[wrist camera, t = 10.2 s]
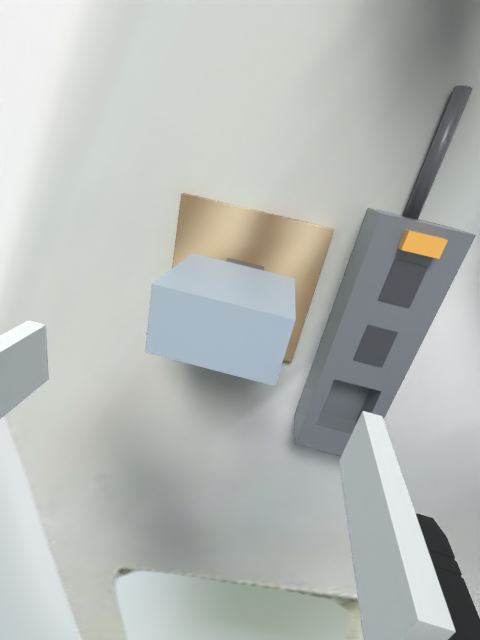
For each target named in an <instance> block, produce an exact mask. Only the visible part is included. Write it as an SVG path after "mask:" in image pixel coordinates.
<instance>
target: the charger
mask: <svg viewBox="0 0 480 640" xmlns="http://www.w3.org/2000/svg"><path fill="white" fill-rule="evenodd" d="M263 268H264V266H261V265H257V264H252V263H248V262H244V261H240V260H236V259H232V258H227V260H226V261H223V260H219V259H214V258H210V257H206V256H202V255H198V254H194V253H192V254H191V255H189V256H188V257H187V258H185V259H184V260H183V261H181V262H180V263H179V264H177V265H176V266H175V267H173V268H172V269H171V270H169V271H168V272H167V273H166V274H164V275H163V276H162V277H160V278H159V279H158V280H156V281H155V282H154V283H152V289H151V299H150V309H149V319H148V329H147V338H146V348H145V352H146V353H150V354H154V355H157V356H161V357H165V358H169V359H173V360H177V361H180V362H184V363H188V364H192V365H196V366H200V367H203V368H207V369H211V370H215V371H219V372H222V373H226V374H230V375H234V376H238V377H242V378H245V379H249V380H253V381H257V382H261V383H264V384H268V385H272V386H275V385H276V382H277V379H278V376H279V372H280V369H281V366H282V363H283V359H284V356H285V353H286V350H287V346H288V343H289V340H290V337H291V333H292V330H293V327H294V324H295V320H296V311H295V278H292V277H288V276H284V275H280V274H276V273H272V272H268V271H263Z"/></svg>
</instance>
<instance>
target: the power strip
mask: <svg viewBox="0 0 480 640" xmlns="http://www.w3.org/2000/svg"><path fill="white" fill-rule="evenodd" d="M471 91H472V88H471V87H468V86H456V87H455V88H454V91H453V93H452V96H451V98H450V101H449V103H448V106H447V108H446V111H445V113H444V116H443V118H442V121H441V123H440V126H439V128H438V130H437V133H436V135H435V138H434V140H433V143H432V145H431V148H430V150H429V153H428V155H427V158H426V160H425V163H424V165H423V168H422V170H421V173H420V175H419V178H418V180H417V183H416V185H415V188H414V190H413V193H412V195H411V198H410V200H409V203H408V205H407V208H406V210H405V213H404V215H403V216H401V215H396V214H392V213H388V212H384V211H379V210H375V209H371V208H368V209H367V212H366V215H365V218H364V221H363V224H362V226H361V229H360V232H359V235H358V238H357V241H356V243H355V246H354V249H353V252H352V255H351V257H350V260H349V263H348V266H347V269H346V272H345V274H344V277H343V280H342V283H341V286H340V288H339V291H338V294H337V297H336V300H335V303H334V305H333V308H332V311H331V314H330V317H329V320H328V322H327V325H326V328H325V331H324V334H323V336H322V339H321V342H320V345H319V348H318V351H317V353H316V356H315V359H314V362H313V365H312V367H311V370H310V373H309V376H308V379H307V382H306V384H305V387H304V390H303V393H302V396H301V399H300V401H299V404H298V407H297V410H296V413H295V444H297V445H301V446H304V447H308V448H312V449H315V450H319V451H323V452H326V453H330V454H334V455H338V456H342V454H343V452H344V449H345V447H346V445H347V443H348V441H349V439H350V437H351V435H352V432H353V430H354V428H355V426H356V424H357V422H358V420H359V417H360V415H361V413H362V411H365V412H369V413H372V414H376V415H380V416H382V417H383V419H384V417H385V415H386V413H387V411H388V409H389V407H390V405H391V403H392V401H393V399H394V397H395V395H396V393H397V391H398V389H399V387H400V385H401V383H402V381H403V379H404V377H405V375H406V373H407V371H408V369H409V367H410V365H411V363H412V361H413V359H414V357H415V355H416V353H417V351H418V349H419V347H420V345H421V344H422V342H423V340H424V338H425V336H426V334H427V332H428V330H429V328H430V326H431V324H432V322H433V320H434V318H435V316H436V314H437V312H438V310H439V308H440V306H441V304H442V302H443V300H444V298H445V296H446V294H447V292H448V290H449V288H450V286H451V284H452V282H453V280H454V278H455V276H456V274H457V272H458V270H459V268H460V266H461V264H462V262H463V260H464V258H465V256H466V254H467V252H468V250H469V248H470V246H471V244H472V242H473V240H474V238H475V236H476V235H473V234H470V233H467V232H464V231H461V230H458V229H455V228H451V227H448V226H444V225H440V224H435V223H431V222H427V221H422V220H418V217H419V215H420V213H421V210H422V208H423V205H424V203H425V201H426V198H427V196H428V194H429V191H430V189H431V186H432V184H433V182H434V179H435V177H436V174H437V172H438V170H439V167H440V165H441V163H442V160H443V158H444V155H445V153H446V151H447V148H448V146H449V144H450V141H451V139H452V136H453V134H454V132H455V129H456V127H457V125H458V122H459V120H460V117H461V115H462V113H463V110H464V108H465V106H466V103H467V101H468V98H469V96H470V94H471Z"/></svg>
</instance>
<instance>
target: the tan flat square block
mask: <svg viewBox="0 0 480 640" xmlns="http://www.w3.org/2000/svg"><path fill="white" fill-rule="evenodd" d="M333 231H334V229H333V228H329V227H324V226H320V225H316V224H312V223H307V222H303V221H299V220H295V219H290V218H286V217H282V216H278V215H274V214H269V213H265V212H261V211H257V210H252V209H248V208H244V207H240V206H235V205H231V204H227V203H223V202H219V201H214V200H210V199H206V198H202V197H197V196H193V195H189V194H185V193H182V194H181V201H180V209H179V217H178V225H177V233H176V241H175V249H174V257H173V265H172V268H173V267H175V266H176V265H177V264H179V263H180V262H181V261H183V260H184V259H185V258H187V257H188V256H189V255H191V254H192V253H194V254H198V255H202V256H206V257H210V258H214V259H219V260H223V261H226V260H227V258H232V259H236V260H240V261H244V262H248V263H252V264H257V265H261V266H264V268H263V271H268V272H272V273H276V274H280V275H284V276H288V277H292V278H295V311H296V320H295V324H294V327H293V330H292V333H291V337H290V340H289V343H288V346H287V350H286V353H285V356H284V359H283V360H285V361H289V362H292V359H293V355H294V352H295V349H296V346H297V343H298V340H299V337H300V334H301V331H302V327H303V324H304V321H305V318H306V315H307V312H308V309H309V306H310V303H311V299H312V296H313V293H314V290H315V287H316V284H317V281H318V278H319V275H320V271H321V268H322V265H323V262H324V259H325V256H326V253H327V250H328V247H329V243H330V240H331V237H332V234H333Z"/></svg>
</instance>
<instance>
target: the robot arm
mask: <svg viewBox="0 0 480 640" xmlns="http://www.w3.org/2000/svg"><path fill="white" fill-rule="evenodd" d="M48 379H49V375H48V356H47V338H46V325H44V324H41V323H37V322H33V321H29V320H28V321H26V322H24V323H22V324H21V325H19V326H17V327H15V328H13V329H11V330H10V331H8V332H6V333H4V334H2V335H0V419H1V418H2V417H3V416H5V415H6V414H7V413H8V412H9V411H11V410H12V409H13V408H14V407H15V406H17V405H18V404H19V403H20V402H22V401H23V400H24V399H25V398H26V397H28V396H29V395H30V394H31V393H33V392H34V391H35V390H36V389H37V388H39V387H40V386H41V385H42V384H43V383H45V382H46V381H47V380H48ZM339 464H340V471H341V479H342V486H343V493H344V501H345V508H346V515H347V522H348V530H349V537H350V544H351V551H352V559H353V566H354V573H355V581H356V588H357V595H358V602H359V610H360V617H361V624H362V631H363V639H364V640H480V619H479V616H478V614H477V611H476V609H475V606H474V604H473V601H472V599H471V596H470V594H469V591H468V589H467V586H466V584H465V581H464V579H463V578H461V575H462V574H461V572H460V569H459V567H458V564H457V562H456V561H455V560H454V558H455V557H454V554H453V552H452V549H451V547H450V544H449V542H448V539H447V537H446V536H445V534H444V533H443V532H442V530H441V529H440V527H439V526H438V525H437V523H436V522H435V521H434V519H433V518H430V517H427V516H423V515H420V514H416V513H415V510H414V508H413V505H412V502H411V499H410V496H409V493H408V490H407V487H406V484H405V481H404V478H403V475H402V472H401V469H400V466H399V464H398V461H397V458H396V455H395V452H394V449H393V446H392V443H391V440H390V437H389V434H388V431H387V428H386V425H385V422H384V420H383V417H382V416H380V415H376V414H372V413H369V412H365V411H362V413H361V415H360V417H359V420H358V422H357V424H356V426H355V428H354V430H353V432H352V435H351V437H350V439H349V441H348V443H347V445H346V447H345V449H344V452H343V454H342V456H341V458H340V460H339Z"/></svg>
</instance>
